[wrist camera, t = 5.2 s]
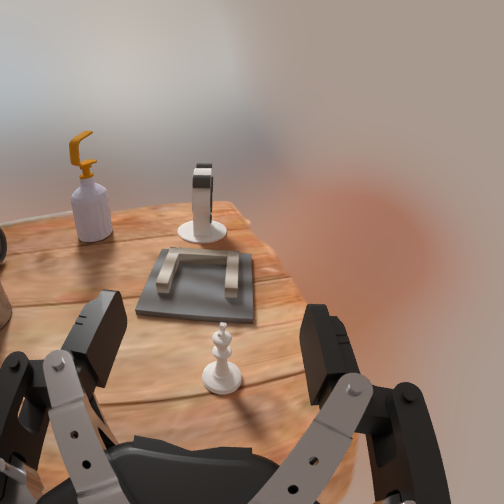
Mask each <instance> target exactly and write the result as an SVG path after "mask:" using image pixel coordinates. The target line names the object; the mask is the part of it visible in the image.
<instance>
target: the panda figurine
mask: <svg viewBox="0 0 504 504" xmlns="http://www.w3.org/2000/svg"><path fill="white" fill-rule="evenodd" d="M212 192H213V177H212V164H197V168H195V169H194V174H193V184H192V212H193V221H189V222H186V223H184V224H182V225H181V226H180V227H179V228H178V235H179V237H180V238H182V239H183V240H185V241H188V242H191V243H199V244H204V243H212V242H216V241H218V240H220V239H222V238H223V237H225V235H226V232H227V230H226V228H225V226H224V225H222V224H221V223H219V222H216V221H212V215H211V212H212Z"/></svg>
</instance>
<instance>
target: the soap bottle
mask: <svg viewBox="0 0 504 504" xmlns="http://www.w3.org/2000/svg"><path fill="white" fill-rule="evenodd" d="M92 133H93V132H92V131H84V132H82V133H81V134H79V135H78V136H76V137H75V138H73V139H72V140H71V141H70V143H69V149H70V160H71V164H72V165H75V166H80V169H82V170H83V174H82V175H80V183H81V185H80V187H79V188H78V189H77V190H76V191H75V192H74V193H73V195H72V199H71V204H72V209H73V215H74V220H75V225H76V230H77V235H78V238H79V239H80V240H81V241H83V242H97V241H100V240H103V239H104V238H106V237H108V236H109V235H110V234H111V232H112V223H111V216H110V209H109V201H108V193H107V190H106V189H105V188H104V187H103V186H101V185H99V184H96V183H95V182H94V175H93V173H90V169H89V168H90V167H91V164H93V163H96V162H97V160H92V159H88V160H85V161H81V162H80V160H79V143H80V141H81V140H83V139H84V138H86V137H87V136H89V135H90V134H92Z"/></svg>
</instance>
